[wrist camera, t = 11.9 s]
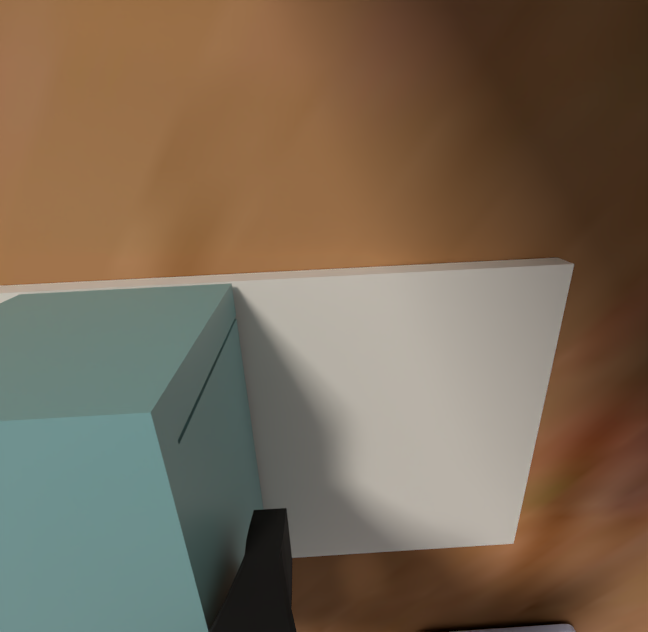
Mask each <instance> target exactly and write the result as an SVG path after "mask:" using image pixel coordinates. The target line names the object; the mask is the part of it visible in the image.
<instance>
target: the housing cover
mask: <svg viewBox="0 0 648 632" xmlns="http://www.w3.org/2000/svg"><path fill="white" fill-rule="evenodd" d="M235 317H236V312H235V305H234V298H233V291H232V284H211V285H192V286H172V287H153V288H133V289H113V290H94V291H74V292H55V293H35V294H19V295H17V296H15V297H13V298H11V299H8V300H6V301H4V302H2V303H0V632H209V630H210V628H211V626H212V624H213V622H214V620H215V618H216V616H217V614H218V612H219V610H220V608H221V606H222V604H223V602H224V600H225V598H226V596H227V594H228V591H229V589H230V587H231V585H232V583H233V580H234V578H235V576H236V574H237V571H238V569H239V567H240V565H241V562H242V560H243V557H244V555H245V547H246V539H247V534H248V530H249V526H250V522H251V518H252V515H253V511H254V510H262V509H263V502H262V495H261V488H260V481H259V474H258V467H257V460H256V453H255V446H254V439H253V432H252V425H251V417H250V410H249V403H248V396H247V389H246V382H245V375H244V368H243V361H242V354H241V347H240V340H239V333H238V326H237V319H235Z"/></svg>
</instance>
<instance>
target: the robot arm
mask: <svg viewBox="0 0 648 632" xmlns="http://www.w3.org/2000/svg"><path fill="white" fill-rule="evenodd" d="M291 603H292V554H291V544H290V535H289V526H288V517H287V508H279V509H262V510H254V511H253V515H252V518H251V522H250V526H249V530H248V534H247V539H246V547H245V555H244V557H243V560H242V562H241V565H240V567H239V569H238V571H237V574H236V576H235V578H234V580H233V583H232V585H231V587H230V589H229V591H228V594H227V596H226V598H225V600H224V602H223V604H222V606H221V608H220V610H219V612H218V614H217V616H216V618H215V620H214V622H213V624H212V626H211V628H210V630H209V632H296V628H295V623H294V619H293V615H292V610H291ZM451 632H576V631H575V629H574V628H573V626H572V625H570V624H553V625H538V626H524V627H509V628H495V629H480V630H466V631H451Z"/></svg>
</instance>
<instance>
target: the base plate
mask: <svg viewBox="0 0 648 632" xmlns="http://www.w3.org/2000/svg"><path fill="white" fill-rule="evenodd" d="M573 268H574V264H573V263H571V262H568V261H565V260H563V259H560V258H539V259H520V260H500V261H480V262H460V263H441V264H421V265H401V266H381V267H362V268H342V269H322V270H302V271H283V272H263V273H243V274H223V275H204V276H184V277H164V278H144V279H125V280H105V281H85V282H65V283H46V284H26V285H6V286H0V303H2V302H4V301H6V300H8V299H11V298H13V297H15V296H17V295H19V294H35V293H55V292H74V291H94V290H113V289H133V288H153V287H172V286H192V285H211V284H232V291H233V298H234V305H235V312H236V317H235V319H237V326H238V333H239V340H240V347H241V354H242V361H243V368H244V375H245V382H246V389H247V396H248V403H249V410H250V417H251V425H252V432H253V439H254V446H255V453H256V460H257V467H258V474H259V481H260V488H261V495H262V502H263V509H279V508H287V517H288V526H289V535H290V544H291V554H292V558H299V557H314V556H329V555H345V554H360V553H376V552H391V551H407V550H422V549H438V548H453V547H468V546H484V545H499V544H514V539H515V534H516V530H517V525H518V521H519V516H520V511H521V507H522V502H523V498H524V493H525V488H526V484H527V479H528V475H529V470H530V465H531V461H532V456H533V452H534V447H535V442H536V438H537V433H538V429H539V424H540V419H541V415H542V410H543V406H544V401H545V396H546V392H547V387H548V383H549V378H550V373H551V369H552V364H553V360H554V355H555V351H556V346H557V341H558V337H559V332H560V328H561V323H562V318H563V314H564V309H565V305H566V300H567V295H568V291H569V286H570V282H571V277H572V272H573Z"/></svg>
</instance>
